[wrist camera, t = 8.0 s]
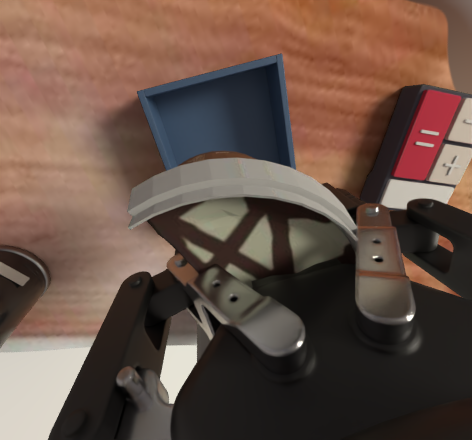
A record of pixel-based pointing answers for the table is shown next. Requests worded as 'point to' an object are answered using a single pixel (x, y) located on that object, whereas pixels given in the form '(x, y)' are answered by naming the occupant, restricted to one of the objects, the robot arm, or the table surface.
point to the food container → (245, 216)
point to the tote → (223, 114)
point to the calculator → (422, 148)
